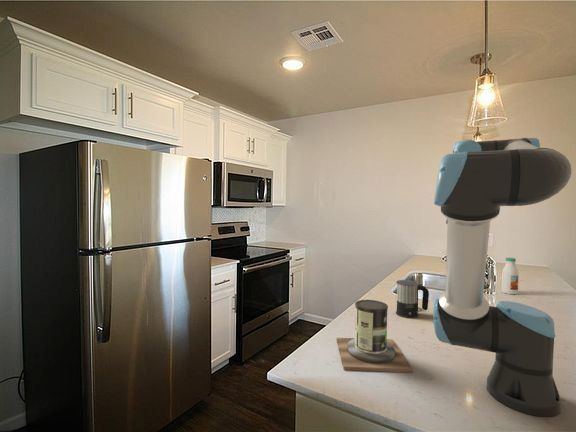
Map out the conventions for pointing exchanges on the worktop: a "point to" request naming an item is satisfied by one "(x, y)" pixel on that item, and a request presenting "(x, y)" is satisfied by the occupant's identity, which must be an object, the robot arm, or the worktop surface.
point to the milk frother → (410, 298)
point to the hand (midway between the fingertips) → (462, 246)
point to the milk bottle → (510, 277)
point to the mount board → (370, 366)
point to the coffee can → (371, 326)
